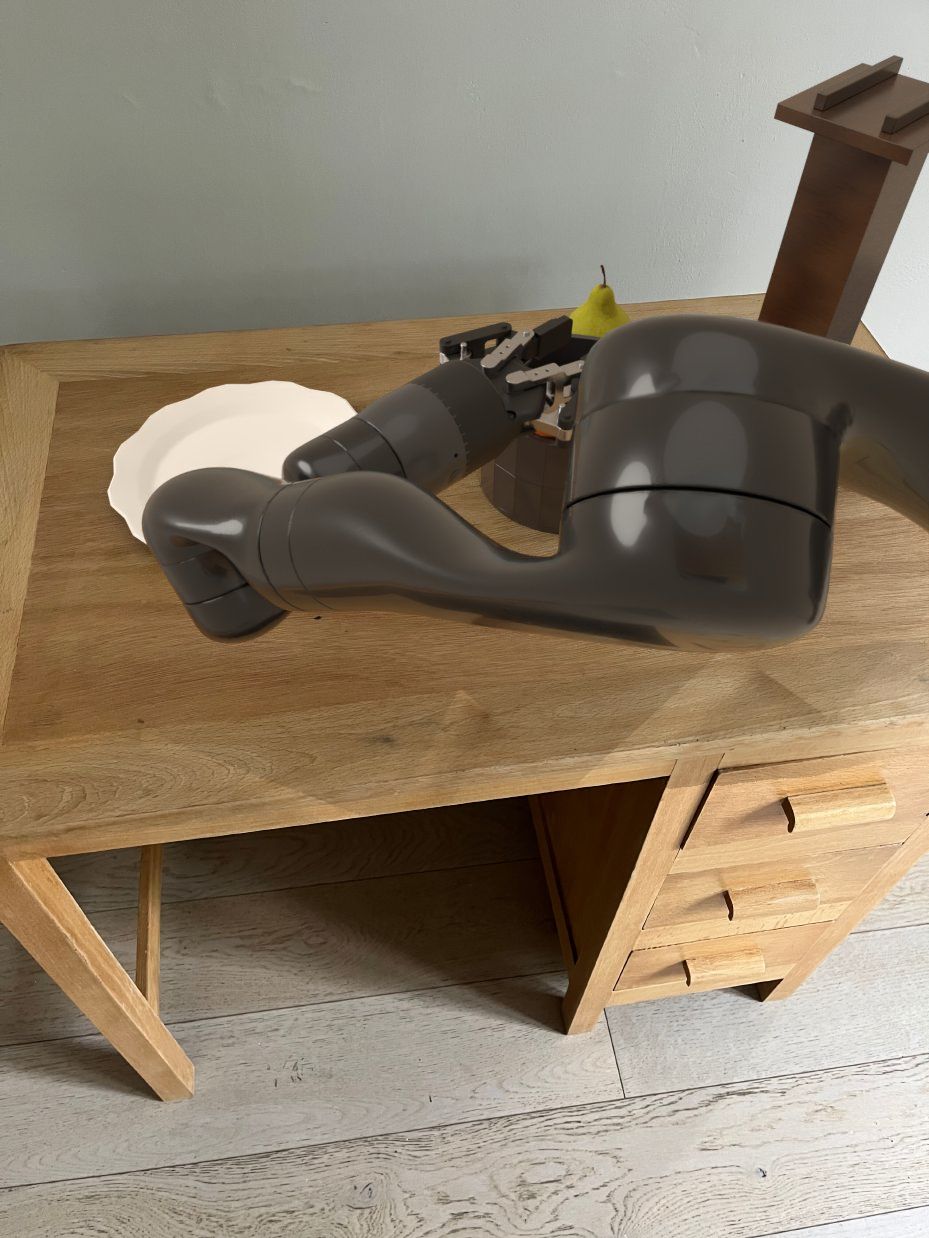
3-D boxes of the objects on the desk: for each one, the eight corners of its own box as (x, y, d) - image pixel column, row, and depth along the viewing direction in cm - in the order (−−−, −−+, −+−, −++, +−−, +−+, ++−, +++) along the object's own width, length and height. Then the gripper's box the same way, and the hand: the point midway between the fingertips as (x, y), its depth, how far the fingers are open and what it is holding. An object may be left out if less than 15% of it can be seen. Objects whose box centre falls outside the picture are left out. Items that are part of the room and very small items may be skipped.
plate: (424, 430, 86) (423, 415, 85) (303, 608, 71) (300, 593, 70) (210, 373, 92) (206, 358, 90) (58, 527, 77) (50, 512, 76)
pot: (682, 476, 82) (705, 389, 74) (568, 562, 75) (580, 475, 67) (557, 400, 89) (567, 313, 82) (443, 471, 82) (441, 383, 75)
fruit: (584, 337, 97) (597, 233, 87) (637, 358, 94) (656, 253, 85) (550, 365, 93) (560, 260, 84) (604, 389, 91) (621, 283, 81)
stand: (838, 465, 83) (1008, 88, 57) (774, 520, 78) (927, 135, 53) (744, 413, 88) (861, 45, 62) (677, 462, 83) (775, 84, 58)
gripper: (501, 443, 53) (673, 335, 60) (356, 345, 59) (528, 259, 67) (496, 529, 59) (654, 421, 66) (365, 431, 65) (522, 343, 73)
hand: (590, 340), depth 66 cm, fingers open, 4 cm apart
